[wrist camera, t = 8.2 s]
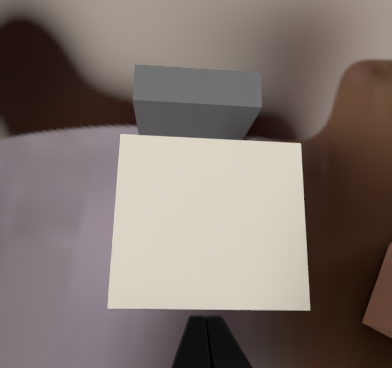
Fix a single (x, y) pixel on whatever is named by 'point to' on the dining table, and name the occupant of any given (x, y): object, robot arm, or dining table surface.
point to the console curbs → (195, 102)
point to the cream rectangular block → (209, 225)
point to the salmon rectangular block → (381, 299)
